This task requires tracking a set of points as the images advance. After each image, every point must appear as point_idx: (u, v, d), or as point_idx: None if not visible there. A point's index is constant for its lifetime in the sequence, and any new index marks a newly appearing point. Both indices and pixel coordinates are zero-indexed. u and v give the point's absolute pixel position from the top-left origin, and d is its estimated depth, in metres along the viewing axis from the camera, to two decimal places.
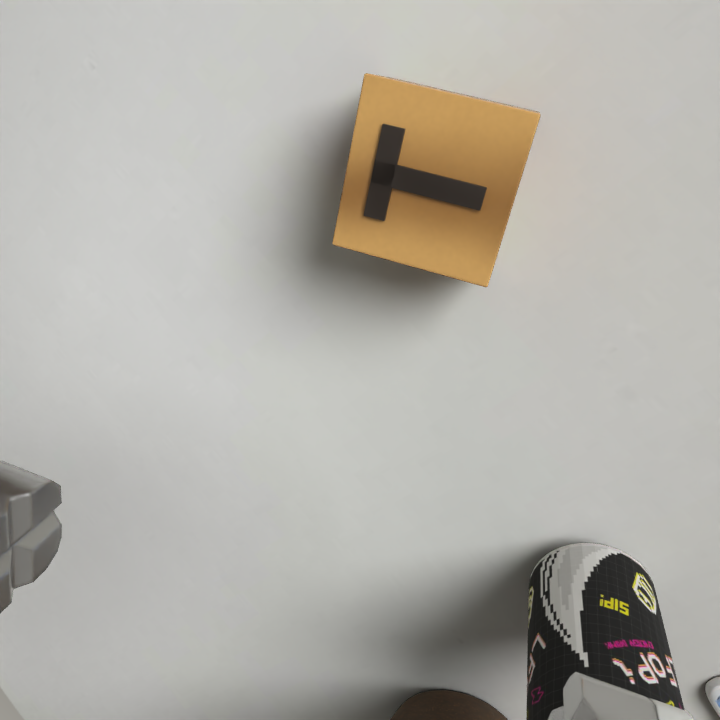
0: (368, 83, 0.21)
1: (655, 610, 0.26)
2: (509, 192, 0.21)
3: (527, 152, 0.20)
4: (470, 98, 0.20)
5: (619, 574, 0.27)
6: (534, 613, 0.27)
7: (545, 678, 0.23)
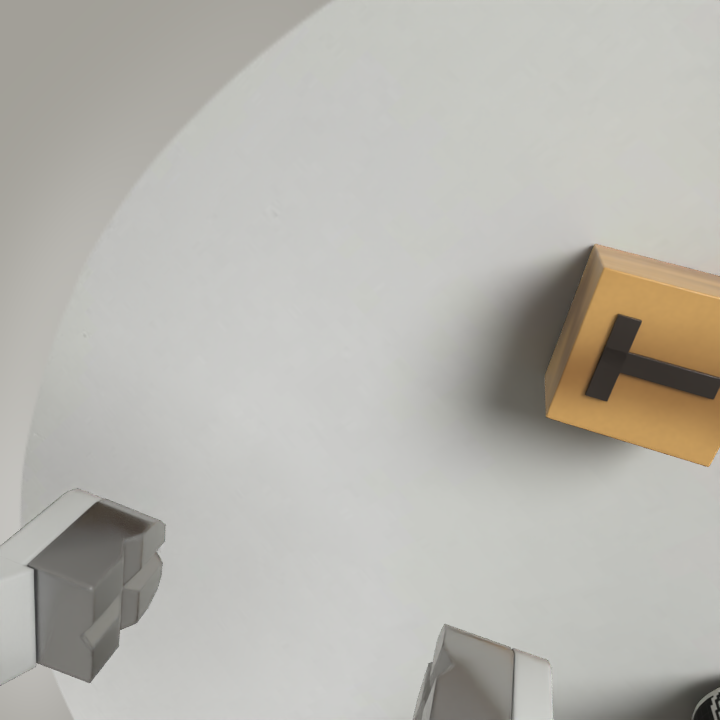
0: (607, 277, 0.21)
1: None
2: None
3: None
4: (715, 297, 0.20)
5: None
6: None
7: None
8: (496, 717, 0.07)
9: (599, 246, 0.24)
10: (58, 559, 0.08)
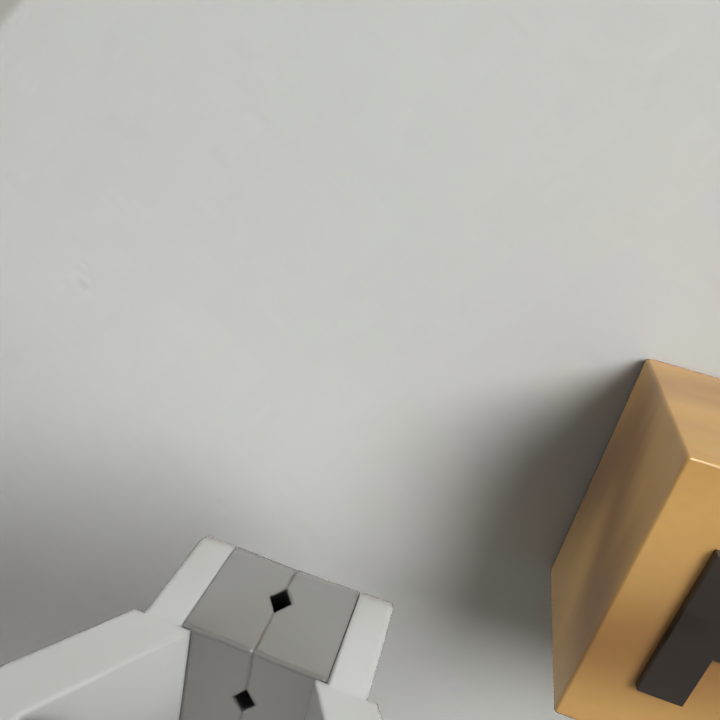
0: (694, 476, 0.09)
1: None
2: None
3: None
4: None
5: None
6: None
7: None
8: (323, 651, 0.08)
9: (658, 366, 0.12)
10: (210, 617, 0.08)
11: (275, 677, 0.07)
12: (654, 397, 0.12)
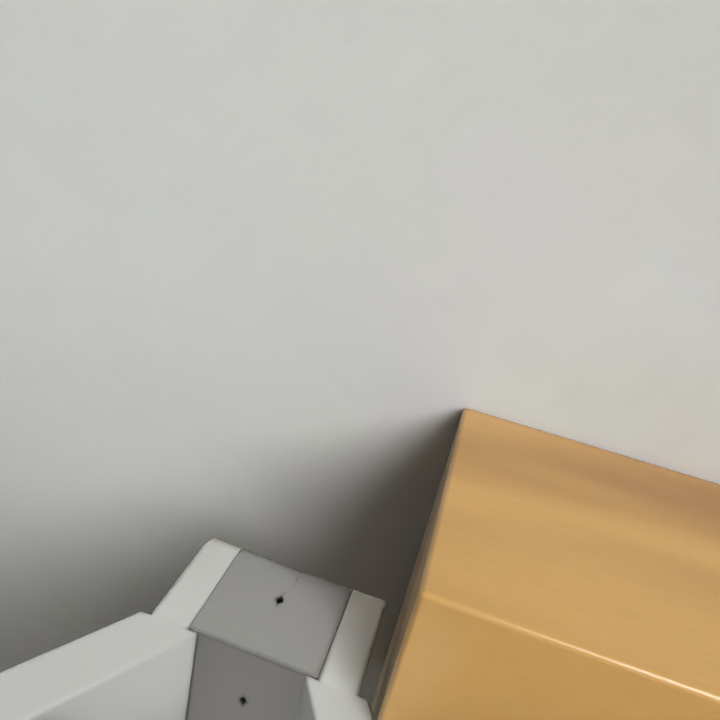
0: (434, 623, 0.06)
1: None
2: None
3: None
4: None
5: None
6: None
7: None
8: (314, 647, 0.08)
9: (473, 421, 0.09)
10: (217, 620, 0.08)
11: (266, 674, 0.07)
12: (448, 471, 0.08)
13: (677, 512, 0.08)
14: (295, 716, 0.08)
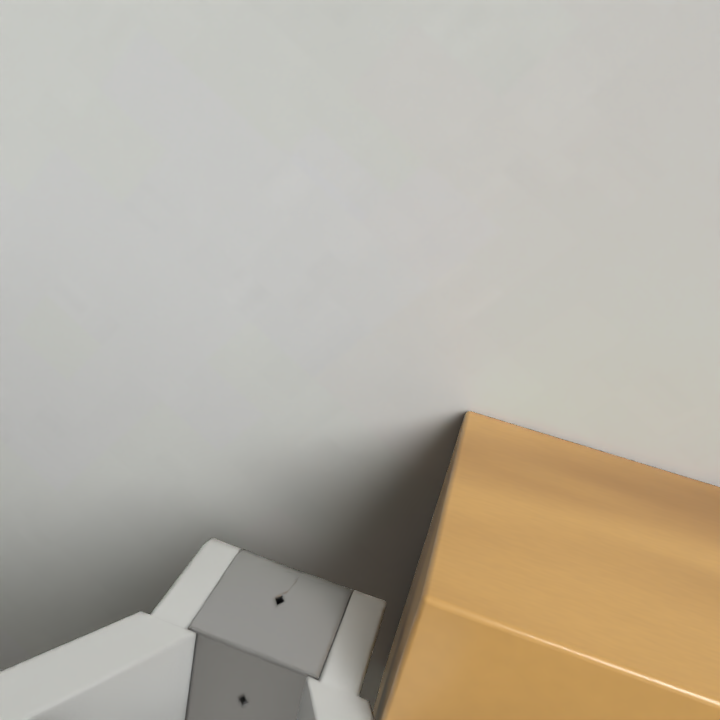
0: (437, 627, 0.06)
1: None
2: None
3: None
4: None
5: None
6: None
7: None
8: (315, 648, 0.08)
9: (475, 424, 0.09)
10: (217, 620, 0.08)
11: (267, 674, 0.07)
12: None
13: (681, 516, 0.08)
14: (296, 716, 0.08)
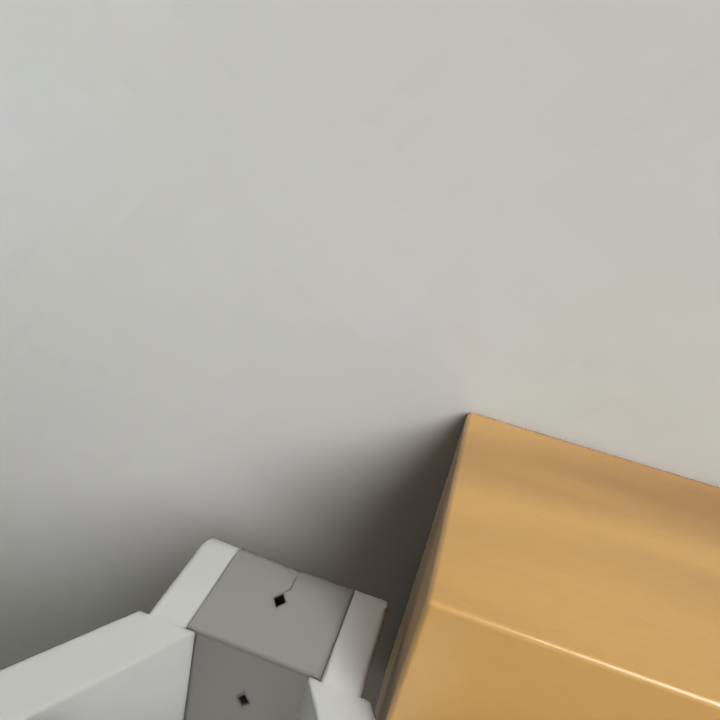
0: (442, 631, 0.06)
1: None
2: None
3: None
4: None
5: None
6: None
7: None
8: (317, 648, 0.08)
9: (477, 425, 0.09)
10: (216, 619, 0.08)
11: (269, 674, 0.07)
12: (453, 476, 0.08)
13: (684, 518, 0.08)
14: (297, 717, 0.08)
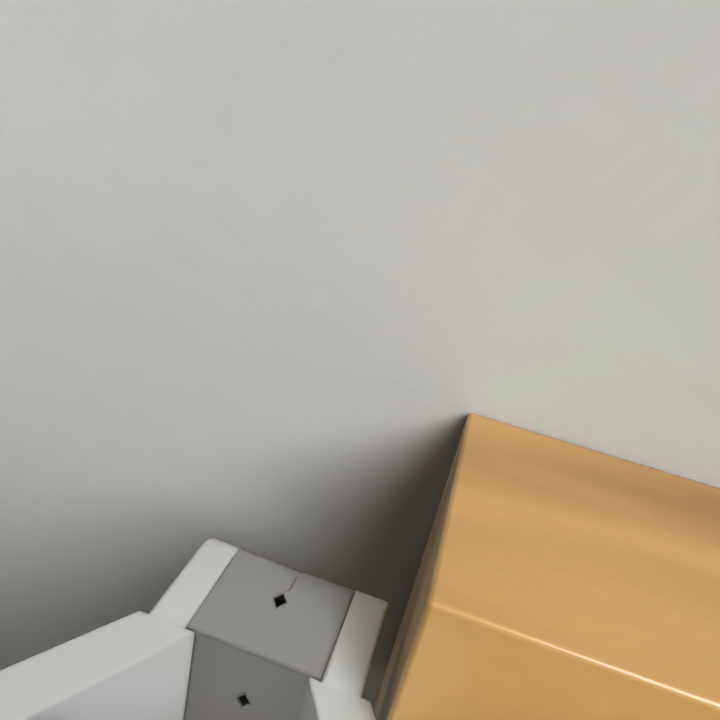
0: (443, 631, 0.06)
1: None
2: None
3: None
4: None
5: None
6: None
7: None
8: (317, 648, 0.08)
9: (478, 426, 0.09)
10: (215, 619, 0.08)
11: (270, 675, 0.07)
12: (453, 477, 0.08)
13: (684, 519, 0.08)
14: (298, 717, 0.08)
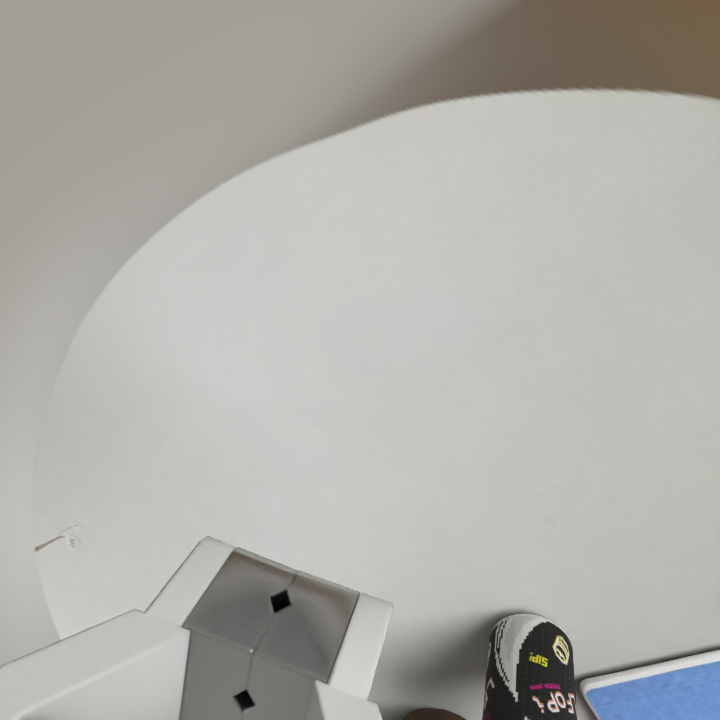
0: None
1: (567, 661, 0.41)
2: None
3: None
4: None
5: (545, 637, 0.41)
6: (490, 662, 0.42)
7: (492, 707, 0.38)
8: (323, 650, 0.08)
9: None
10: (211, 618, 0.08)
11: (275, 677, 0.07)
12: None
13: None
14: (304, 719, 0.08)
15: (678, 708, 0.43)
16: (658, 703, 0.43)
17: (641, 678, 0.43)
